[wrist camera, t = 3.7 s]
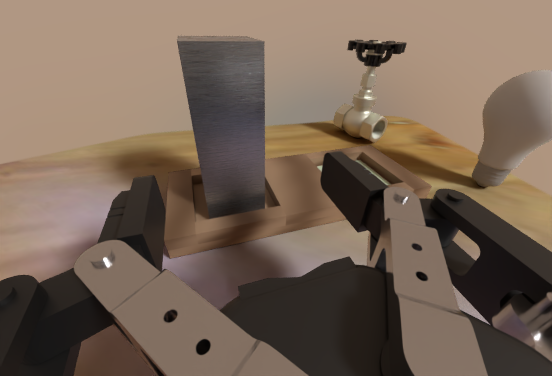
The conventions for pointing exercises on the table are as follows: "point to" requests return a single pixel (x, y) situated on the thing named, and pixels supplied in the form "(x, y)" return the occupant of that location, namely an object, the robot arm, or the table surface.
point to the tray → (270, 201)
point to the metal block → (227, 119)
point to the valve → (367, 92)
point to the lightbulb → (514, 125)
